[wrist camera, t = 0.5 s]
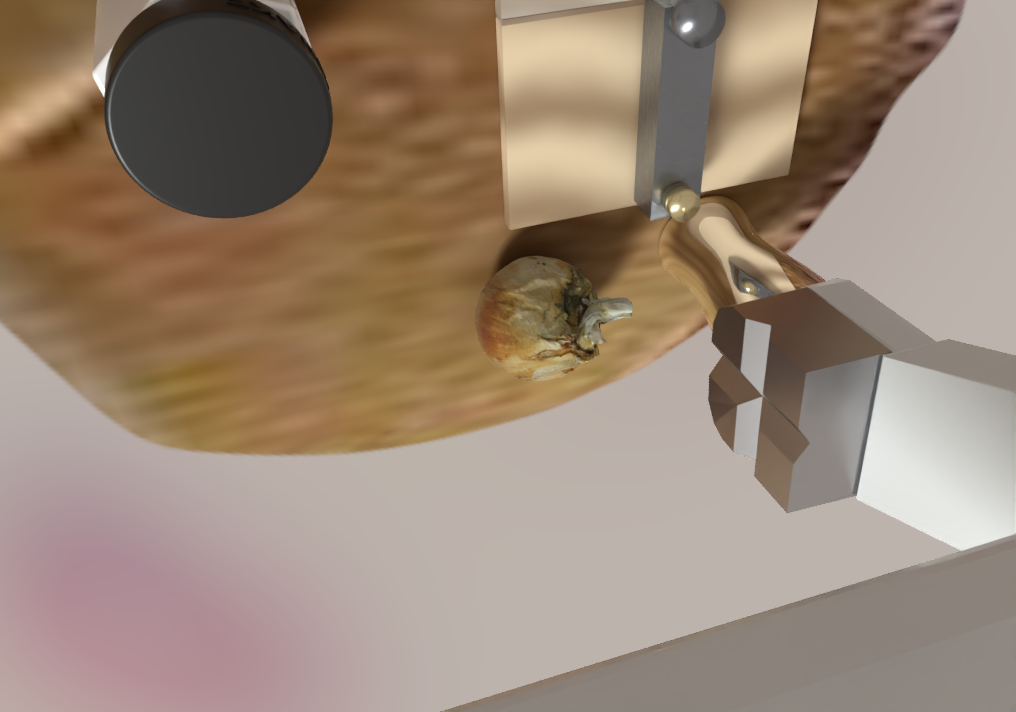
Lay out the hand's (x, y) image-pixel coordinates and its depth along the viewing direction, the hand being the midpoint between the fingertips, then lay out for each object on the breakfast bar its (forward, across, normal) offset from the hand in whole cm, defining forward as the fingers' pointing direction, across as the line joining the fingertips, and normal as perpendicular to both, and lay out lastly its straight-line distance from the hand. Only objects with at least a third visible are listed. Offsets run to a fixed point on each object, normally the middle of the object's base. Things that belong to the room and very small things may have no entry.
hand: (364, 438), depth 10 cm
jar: (+40, 0, +4) cm, 40 cm away
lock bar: (+39, -23, +10) cm, 46 cm away
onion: (+42, -15, +22) cm, 50 cm away
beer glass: (+42, -27, +21) cm, 54 cm away
